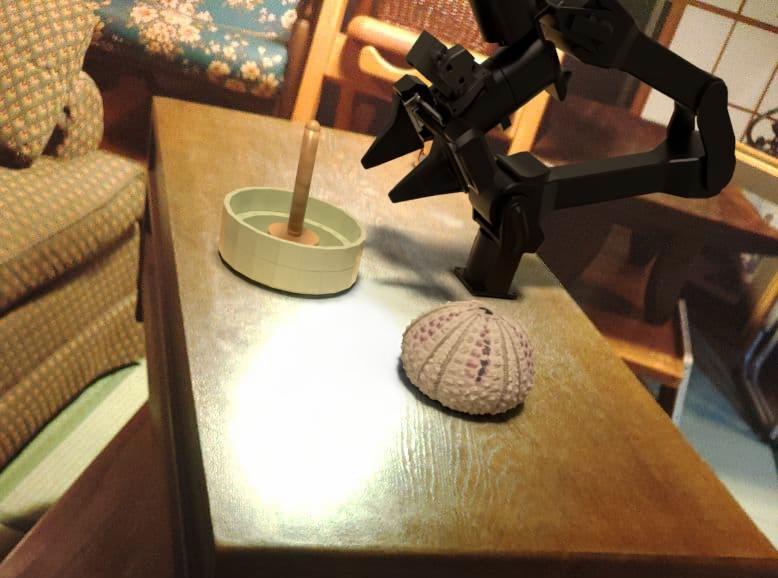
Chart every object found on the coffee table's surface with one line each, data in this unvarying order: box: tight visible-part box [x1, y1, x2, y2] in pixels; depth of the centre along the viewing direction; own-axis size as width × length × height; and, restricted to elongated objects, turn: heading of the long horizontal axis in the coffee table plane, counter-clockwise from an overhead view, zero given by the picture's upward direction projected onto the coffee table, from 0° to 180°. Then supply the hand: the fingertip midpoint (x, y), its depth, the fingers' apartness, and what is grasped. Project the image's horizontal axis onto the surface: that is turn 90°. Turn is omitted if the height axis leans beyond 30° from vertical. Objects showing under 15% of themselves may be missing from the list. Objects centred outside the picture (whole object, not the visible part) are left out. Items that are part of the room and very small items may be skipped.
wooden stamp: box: [267, 119, 322, 246], centre depth 77 cm, size 6×6×14 cm
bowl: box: [217, 186, 367, 295], centre depth 80 cm, size 15×15×6 cm
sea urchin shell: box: [399, 299, 538, 416], centre depth 69 cm, size 13×14×8 cm
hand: (375, 181), depth 79 cm, fingers open, 9 cm apart
